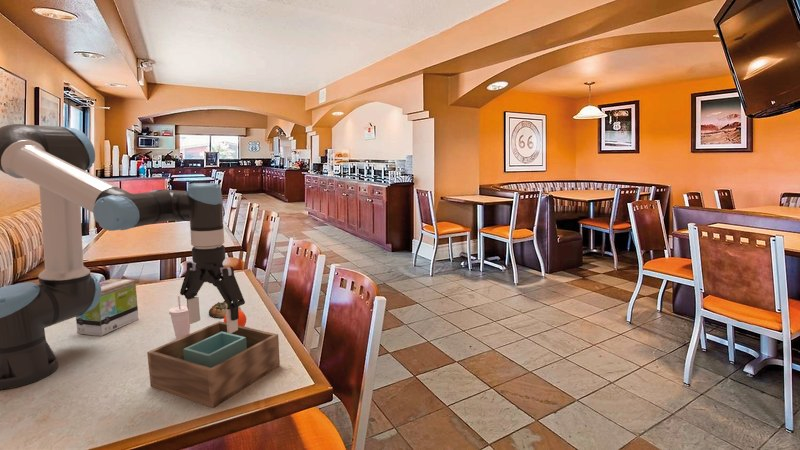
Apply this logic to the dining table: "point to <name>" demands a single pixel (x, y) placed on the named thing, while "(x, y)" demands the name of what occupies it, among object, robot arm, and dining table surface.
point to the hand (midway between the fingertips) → (213, 326)
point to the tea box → (111, 308)
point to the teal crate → (215, 349)
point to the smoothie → (180, 320)
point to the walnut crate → (220, 379)
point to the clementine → (239, 319)
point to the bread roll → (219, 310)
